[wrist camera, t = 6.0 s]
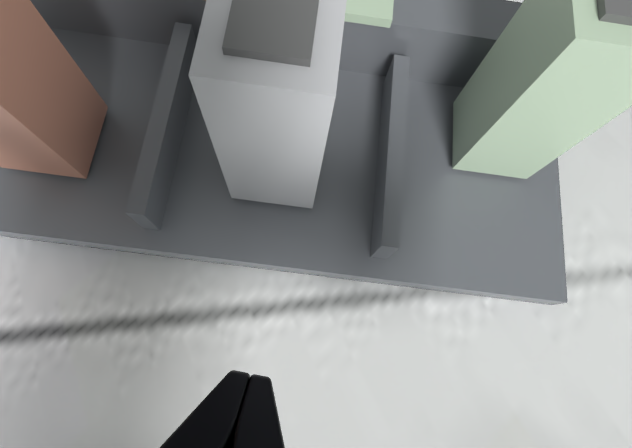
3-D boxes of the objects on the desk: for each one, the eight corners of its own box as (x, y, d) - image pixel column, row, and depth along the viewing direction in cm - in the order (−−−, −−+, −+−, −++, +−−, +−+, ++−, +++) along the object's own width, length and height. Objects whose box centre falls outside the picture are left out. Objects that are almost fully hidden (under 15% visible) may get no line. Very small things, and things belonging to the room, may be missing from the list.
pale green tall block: (526, 178, 22) (711, 50, 12) (452, 168, 21) (582, 30, 12) (523, 112, 23) (690, -51, 13) (453, 102, 23) (572, -70, 13)
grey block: (312, 208, 20) (337, 89, 11) (231, 198, 20) (185, 67, 11) (321, 136, 21) (350, -27, 12) (244, 126, 21) (214, -48, 12)
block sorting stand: (552, 304, 21) (640, 291, 16) (-41, 230, 20) (-155, 189, 15) (539, 73, 26) (605, 2, 20) (47, 1, 24) (-17, -94, 19)
